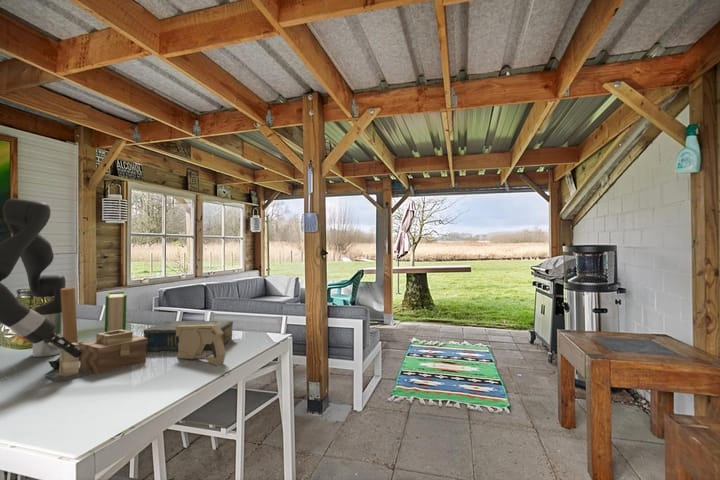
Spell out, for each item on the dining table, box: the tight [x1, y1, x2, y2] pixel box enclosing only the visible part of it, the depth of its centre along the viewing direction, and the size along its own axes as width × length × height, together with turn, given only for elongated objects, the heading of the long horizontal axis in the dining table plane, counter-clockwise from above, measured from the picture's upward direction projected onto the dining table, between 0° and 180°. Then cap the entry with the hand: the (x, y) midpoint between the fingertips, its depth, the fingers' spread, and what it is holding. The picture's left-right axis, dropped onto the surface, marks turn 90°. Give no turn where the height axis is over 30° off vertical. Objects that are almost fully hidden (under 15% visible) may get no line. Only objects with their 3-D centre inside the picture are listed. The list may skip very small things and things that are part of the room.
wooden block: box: [58, 343, 80, 377], centre depth 118 cm, size 4×4×10 cm
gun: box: [176, 325, 226, 366], centre depth 135 cm, size 24×3×15 cm, turn 65°
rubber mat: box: [45, 367, 92, 383], centre depth 118 cm, size 10×9×1 cm
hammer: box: [48, 286, 84, 369], centre depth 131 cm, size 20×5×30 cm, turn 18°
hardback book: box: [104, 291, 128, 332], centre depth 156 cm, size 18×7×24 cm, turn 35°
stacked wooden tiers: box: [79, 329, 148, 375], centre depth 130 cm, size 15×17×12 cm
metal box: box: [143, 320, 234, 353], centre depth 158 cm, size 21×32×10 cm, turn 93°
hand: (76, 354), depth 120 cm, fingers open, 4 cm apart
